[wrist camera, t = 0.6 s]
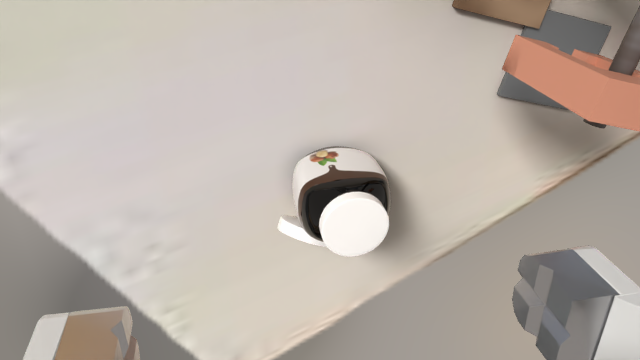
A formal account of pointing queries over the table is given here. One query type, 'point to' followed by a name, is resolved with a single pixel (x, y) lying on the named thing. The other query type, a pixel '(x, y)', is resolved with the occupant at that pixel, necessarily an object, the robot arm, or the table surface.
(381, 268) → the table surface
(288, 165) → the table surface
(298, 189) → the spread jar
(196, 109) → the table surface
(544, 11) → the stand
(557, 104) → the coaster
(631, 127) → the link
